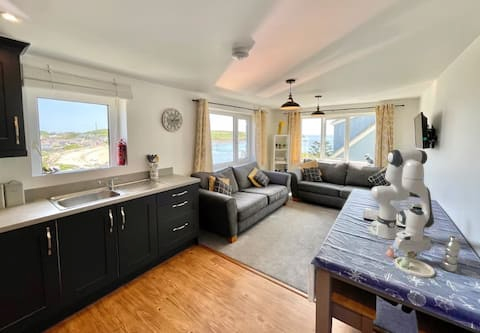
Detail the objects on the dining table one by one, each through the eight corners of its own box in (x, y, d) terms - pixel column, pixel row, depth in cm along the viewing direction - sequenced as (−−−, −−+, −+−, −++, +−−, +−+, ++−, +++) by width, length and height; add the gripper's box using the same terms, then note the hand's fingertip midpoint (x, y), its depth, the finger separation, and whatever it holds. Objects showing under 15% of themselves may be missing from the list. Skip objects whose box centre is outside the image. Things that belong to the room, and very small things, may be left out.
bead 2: (399, 265, 131) (400, 257, 130) (406, 265, 131) (406, 257, 130) (404, 269, 127) (405, 261, 127) (410, 269, 127) (411, 261, 127)
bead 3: (405, 257, 141) (406, 250, 140) (411, 257, 141) (412, 250, 140) (409, 260, 137) (410, 253, 137) (415, 261, 137) (416, 253, 137)
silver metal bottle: (456, 269, 129) (461, 237, 126) (457, 275, 124) (462, 241, 121) (441, 265, 133) (446, 233, 130) (441, 270, 128) (446, 237, 125)
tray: (387, 260, 138) (388, 256, 138) (417, 260, 138) (417, 257, 138) (409, 278, 120) (409, 275, 120) (442, 279, 120) (443, 275, 120)
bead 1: (385, 256, 142) (386, 249, 142) (391, 256, 142) (391, 249, 142) (389, 259, 139) (389, 252, 138) (394, 259, 139) (395, 252, 138)
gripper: (426, 233, 139) (424, 253, 141) (393, 232, 140) (391, 253, 142) (435, 238, 133) (432, 259, 135) (400, 237, 134) (398, 258, 136)
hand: (411, 256), depth 138 cm, fingers closed on bead 3, 3 cm apart
